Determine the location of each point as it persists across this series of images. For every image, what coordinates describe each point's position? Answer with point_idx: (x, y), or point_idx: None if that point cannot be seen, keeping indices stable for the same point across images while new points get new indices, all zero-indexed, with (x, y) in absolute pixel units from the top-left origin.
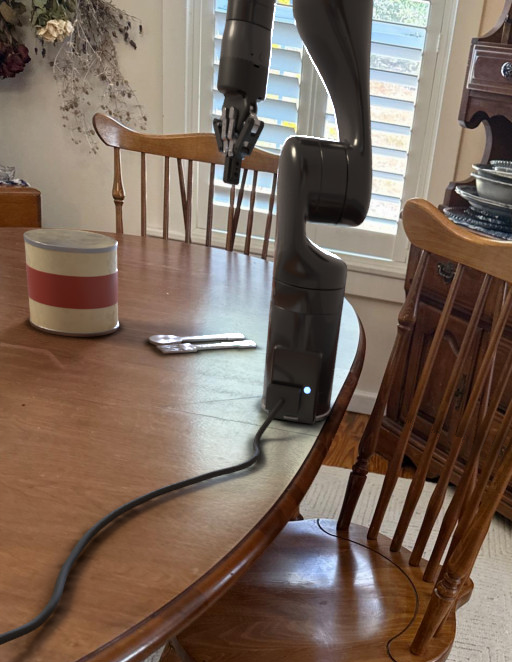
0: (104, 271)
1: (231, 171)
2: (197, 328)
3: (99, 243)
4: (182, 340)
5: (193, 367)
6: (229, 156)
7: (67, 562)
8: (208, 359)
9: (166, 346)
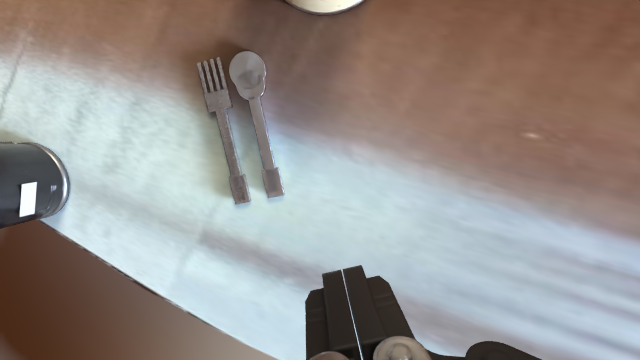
0: None
1: (314, 313)
2: (324, 141)
3: None
4: (249, 100)
5: (157, 95)
6: (324, 352)
7: None
8: (189, 123)
9: (219, 71)
